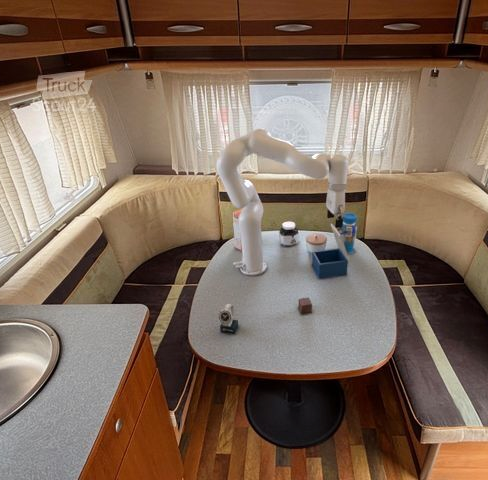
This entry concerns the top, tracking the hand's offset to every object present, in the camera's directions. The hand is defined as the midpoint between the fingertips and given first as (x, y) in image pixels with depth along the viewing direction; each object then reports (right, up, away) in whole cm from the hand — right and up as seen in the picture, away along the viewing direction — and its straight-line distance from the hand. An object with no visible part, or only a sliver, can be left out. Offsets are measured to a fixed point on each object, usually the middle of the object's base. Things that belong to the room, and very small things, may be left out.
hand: (334, 222), depth 157 cm
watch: (-43, -42, -20) cm, 63 cm away
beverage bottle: (+10, -13, +30) cm, 34 cm away
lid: (+3, -9, +7) cm, 12 cm away
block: (-14, -36, -11) cm, 40 cm away
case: (-1, -22, +14) cm, 26 cm away
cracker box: (-42, -11, +35) cm, 56 cm away
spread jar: (-20, -9, +38) cm, 44 cm away
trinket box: (-6, -14, +29) cm, 33 cm away
